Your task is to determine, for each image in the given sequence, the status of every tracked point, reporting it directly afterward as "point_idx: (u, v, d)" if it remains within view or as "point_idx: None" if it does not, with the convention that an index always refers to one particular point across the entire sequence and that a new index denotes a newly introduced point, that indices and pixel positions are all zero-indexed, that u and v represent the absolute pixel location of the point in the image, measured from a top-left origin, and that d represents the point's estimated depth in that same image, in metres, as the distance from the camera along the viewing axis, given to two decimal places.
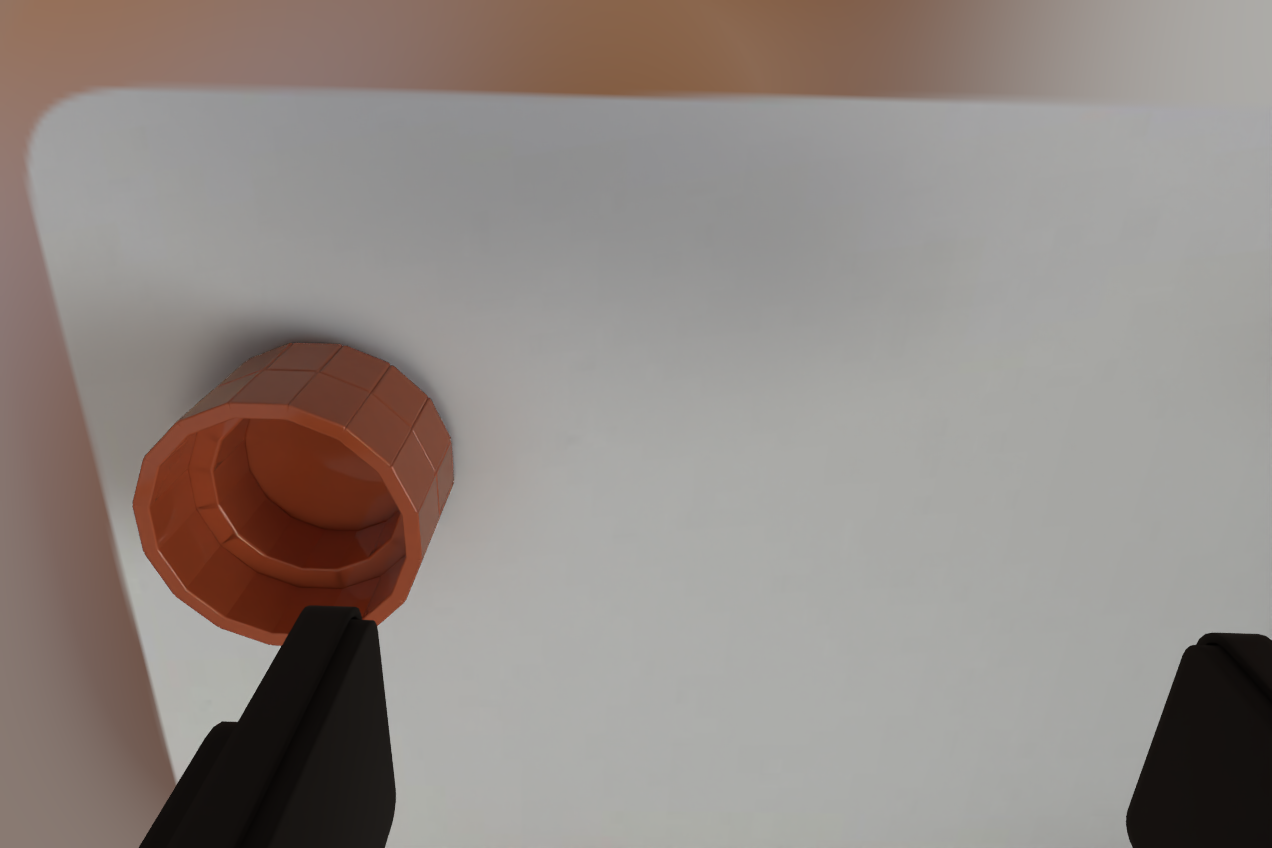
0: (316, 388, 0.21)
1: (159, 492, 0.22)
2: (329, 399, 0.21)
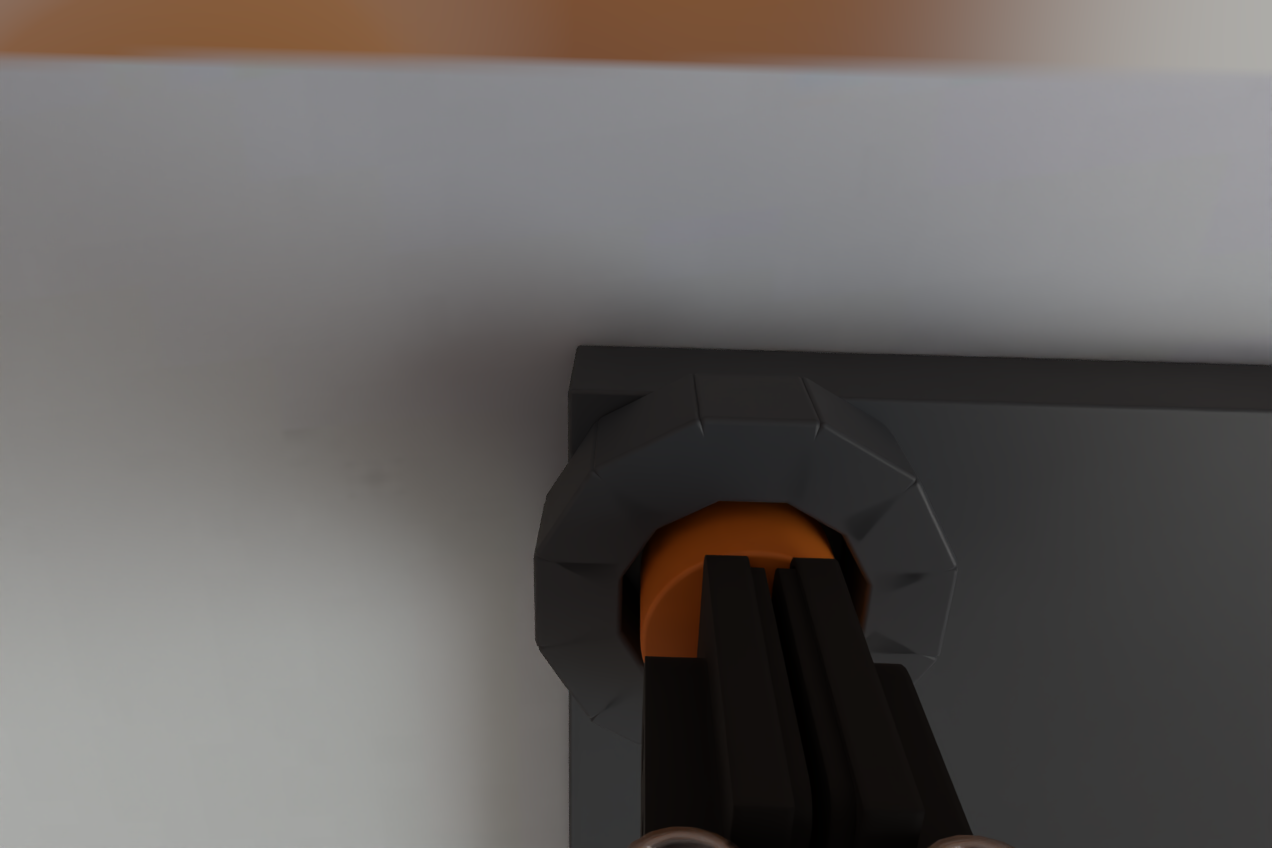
0: None
1: None
2: None
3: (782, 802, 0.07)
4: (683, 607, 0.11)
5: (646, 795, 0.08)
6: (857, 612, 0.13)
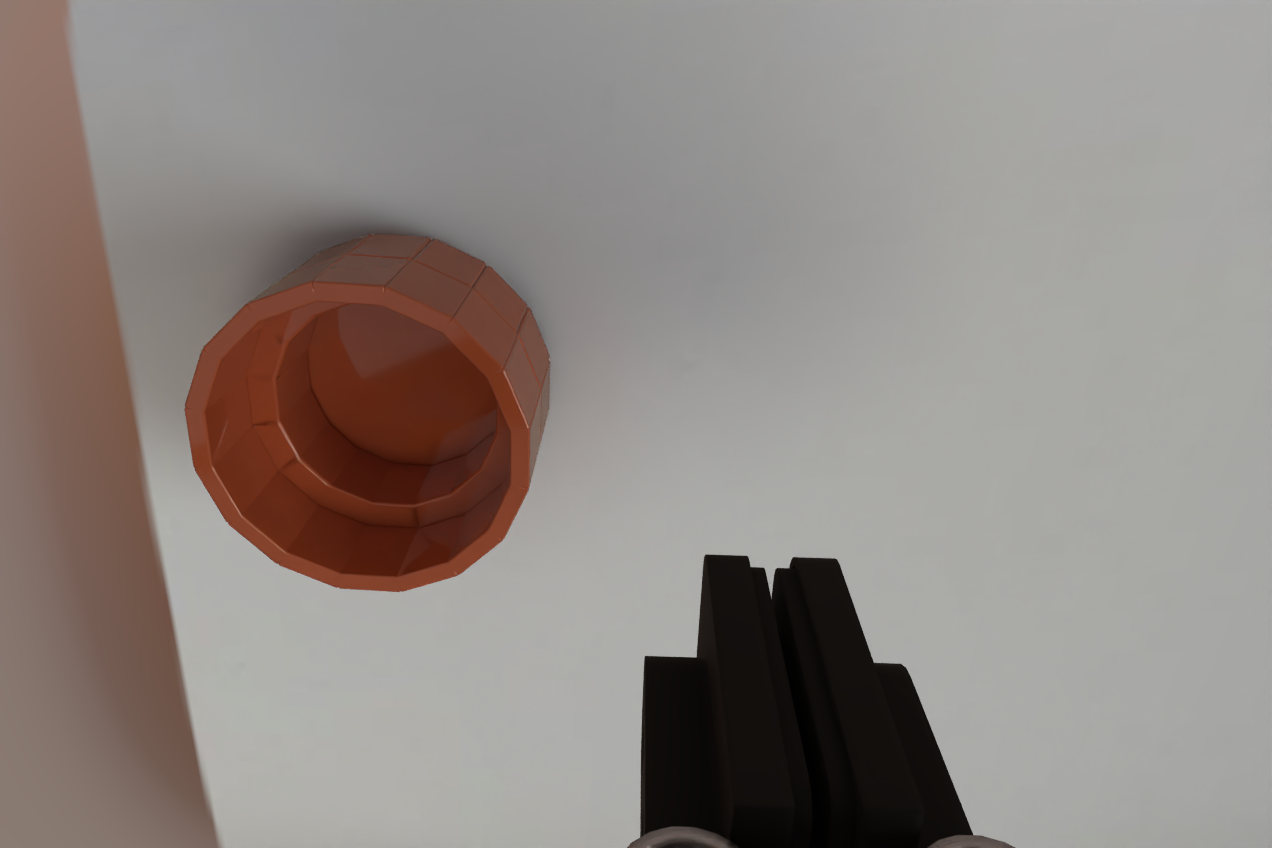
0: (412, 275, 0.18)
1: (215, 395, 0.18)
2: (429, 287, 0.17)
3: (782, 802, 0.07)
4: None
5: (646, 795, 0.08)
6: None
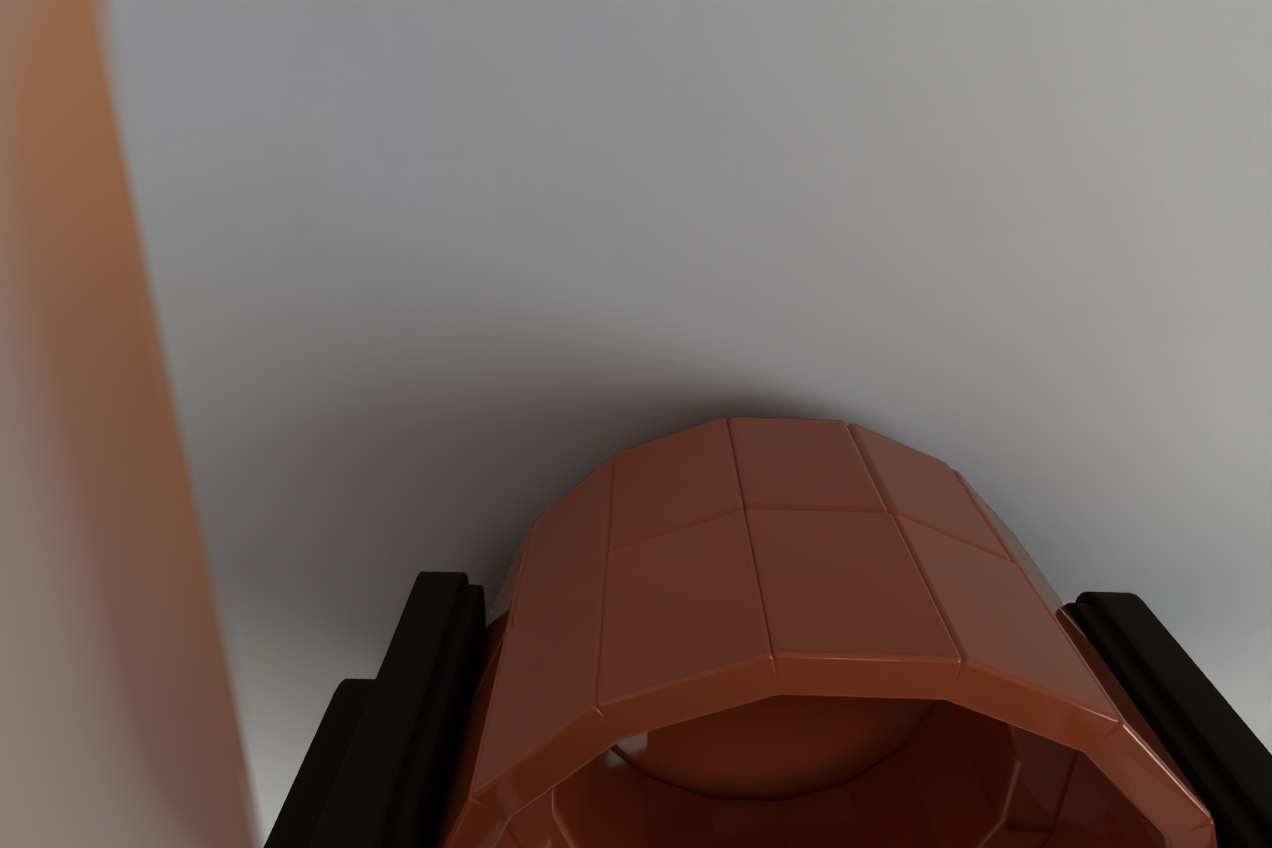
0: (944, 574, 0.07)
1: None
2: (998, 611, 0.07)
3: (367, 844, 0.07)
4: None
5: (271, 832, 0.08)
6: None
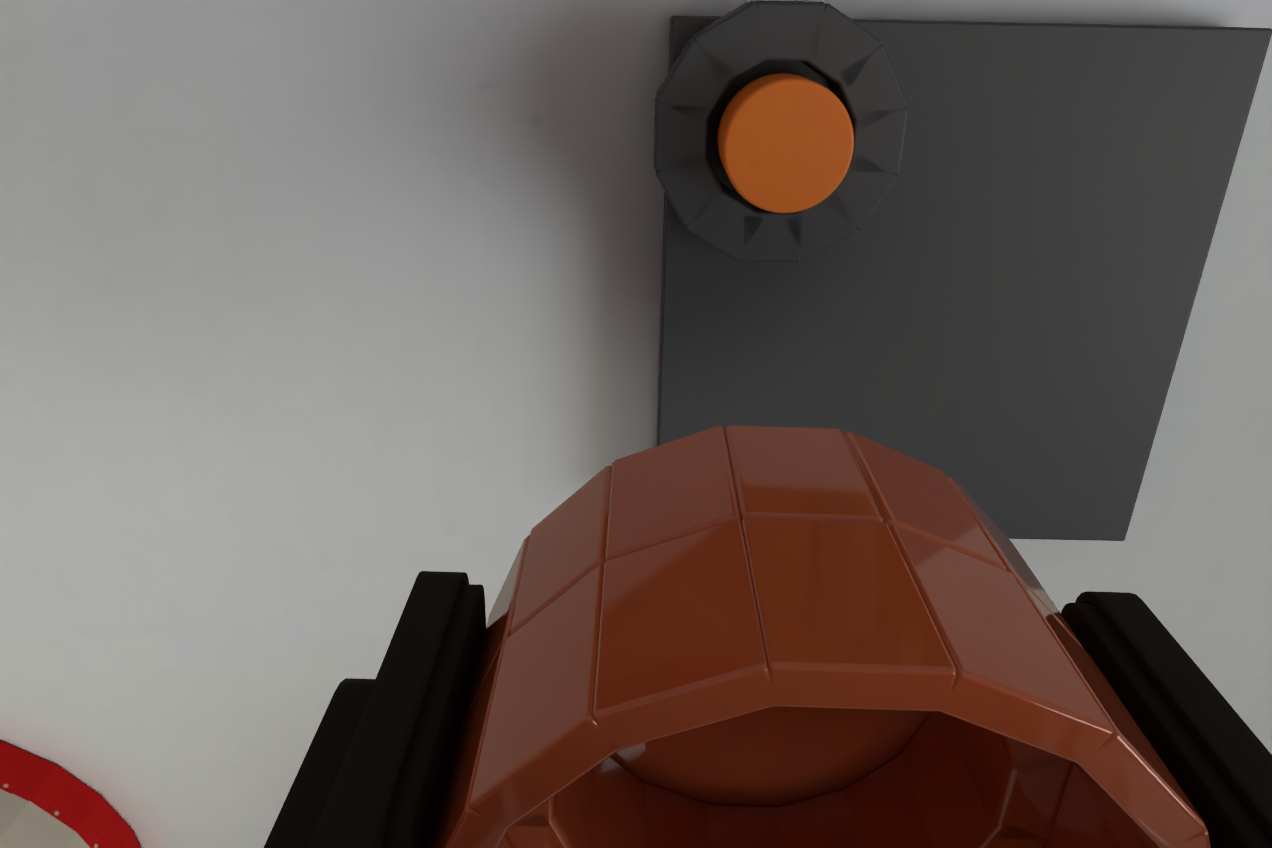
0: (940, 584, 0.07)
1: None
2: (993, 621, 0.07)
3: (367, 844, 0.07)
4: (750, 120, 0.19)
5: (271, 832, 0.08)
6: None
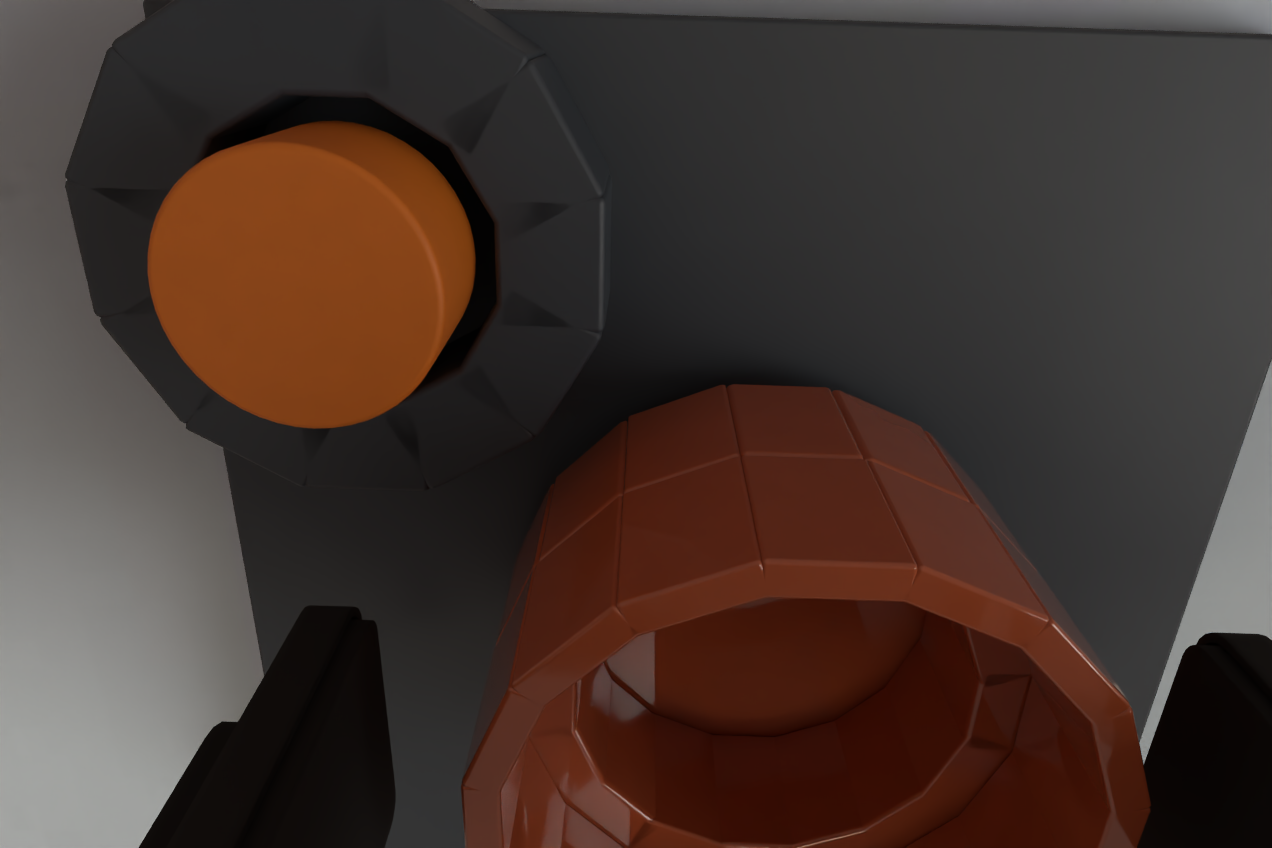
0: (909, 506, 0.09)
1: None
2: (953, 536, 0.09)
3: None
4: (193, 234, 0.08)
5: None
6: None
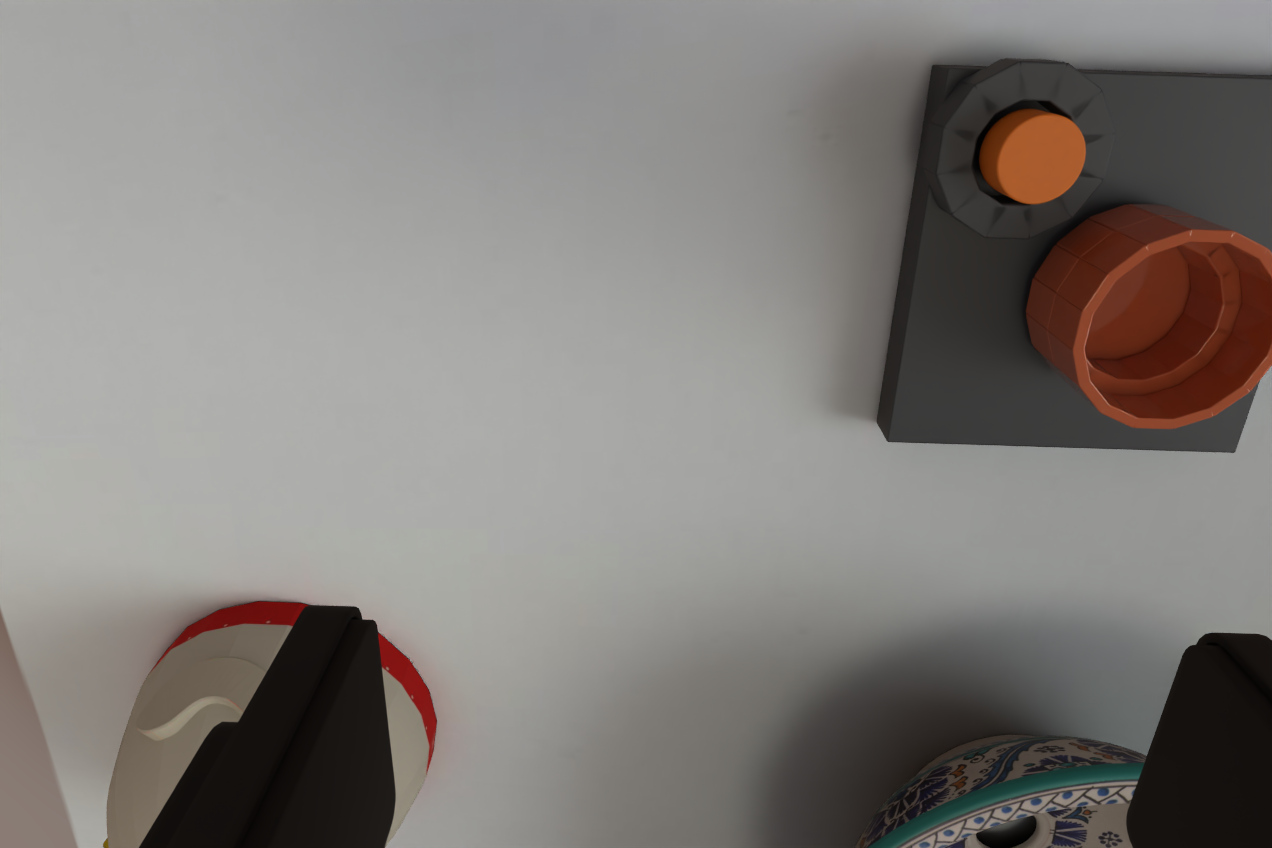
0: None
1: None
2: None
3: None
4: (1018, 141, 0.28)
5: None
6: None
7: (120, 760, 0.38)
